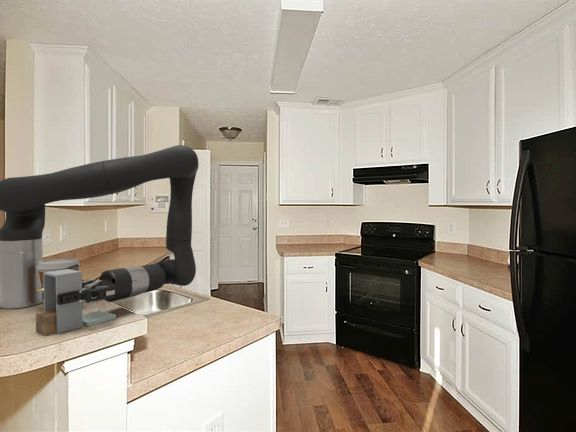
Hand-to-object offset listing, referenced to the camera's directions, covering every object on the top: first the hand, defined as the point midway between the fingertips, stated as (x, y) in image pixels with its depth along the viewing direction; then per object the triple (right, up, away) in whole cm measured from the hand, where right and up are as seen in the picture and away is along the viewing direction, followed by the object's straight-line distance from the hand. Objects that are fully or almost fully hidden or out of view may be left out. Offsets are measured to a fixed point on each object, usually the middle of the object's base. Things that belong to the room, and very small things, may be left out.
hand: (50, 297), depth 74 cm
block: (0, -7, 0) cm, 7 cm away
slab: (+5, -7, +8) cm, 11 cm away
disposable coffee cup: (-10, -7, +18) cm, 21 cm away
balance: (-5, -7, +12) cm, 15 cm away
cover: (+1, -7, +2) cm, 7 cm away
